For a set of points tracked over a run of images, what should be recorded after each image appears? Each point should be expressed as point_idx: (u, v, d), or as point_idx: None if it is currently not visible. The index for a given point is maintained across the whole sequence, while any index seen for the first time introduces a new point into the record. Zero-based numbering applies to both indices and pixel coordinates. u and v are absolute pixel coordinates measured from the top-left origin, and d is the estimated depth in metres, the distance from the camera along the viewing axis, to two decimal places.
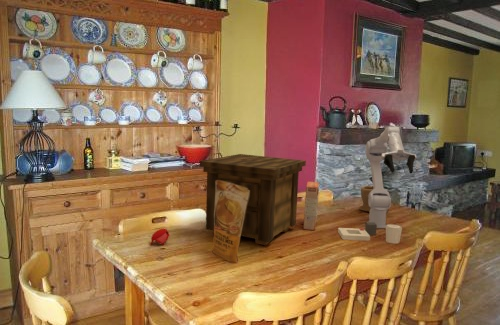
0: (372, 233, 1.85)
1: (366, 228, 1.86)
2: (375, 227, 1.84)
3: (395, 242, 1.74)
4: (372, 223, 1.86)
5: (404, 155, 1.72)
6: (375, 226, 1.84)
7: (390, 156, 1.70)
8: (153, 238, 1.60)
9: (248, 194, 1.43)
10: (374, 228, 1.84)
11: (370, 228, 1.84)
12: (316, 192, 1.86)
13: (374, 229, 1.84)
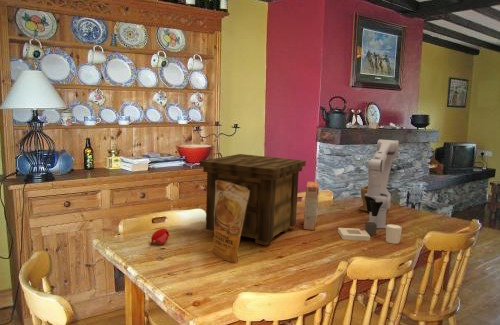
0: (372, 233, 1.85)
1: (366, 228, 1.86)
2: (375, 227, 1.84)
3: (395, 242, 1.74)
4: (372, 223, 1.86)
5: None
6: (375, 226, 1.84)
7: (365, 198, 1.89)
8: (153, 238, 1.60)
9: (248, 194, 1.43)
10: (374, 228, 1.84)
11: (370, 228, 1.84)
12: (316, 192, 1.86)
13: (374, 229, 1.84)
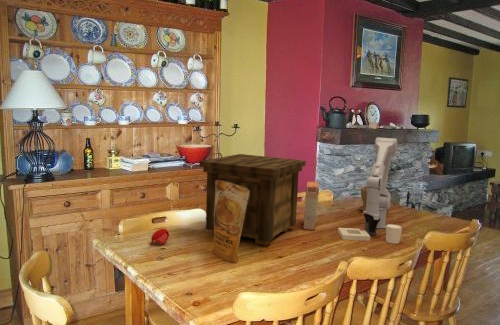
0: (372, 233, 1.84)
1: (366, 228, 1.86)
2: None
3: (395, 242, 1.74)
4: None
5: None
6: None
7: None
8: (153, 238, 1.60)
9: (248, 194, 1.43)
10: None
11: None
12: (316, 192, 1.86)
13: None
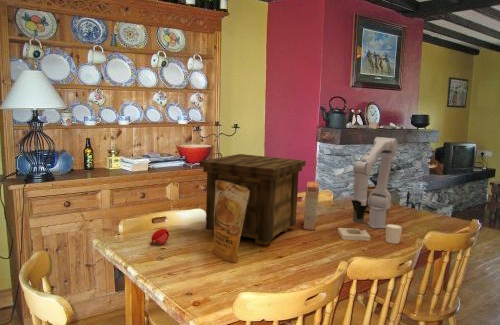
0: (360, 221, 1.80)
1: (354, 216, 1.82)
2: None
3: (395, 242, 1.74)
4: None
5: None
6: None
7: (352, 202, 1.84)
8: (153, 238, 1.60)
9: (248, 194, 1.43)
10: None
11: None
12: (316, 192, 1.86)
13: None
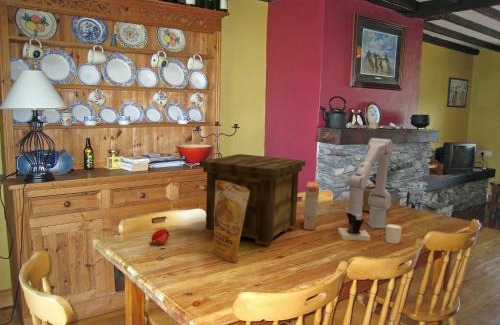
0: None
1: (349, 230, 1.82)
2: None
3: (395, 242, 1.74)
4: None
5: None
6: None
7: (347, 215, 1.85)
8: (153, 238, 1.60)
9: (248, 194, 1.43)
10: None
11: None
12: (316, 192, 1.86)
13: None
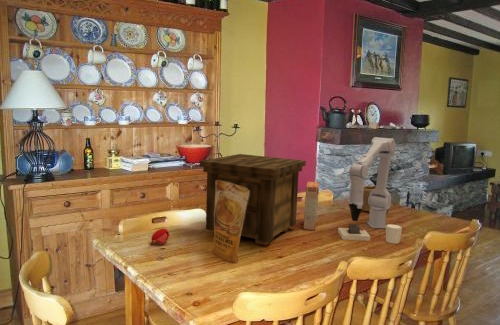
0: None
1: (349, 230, 1.82)
2: (358, 229, 1.79)
3: (395, 242, 1.74)
4: (355, 225, 1.81)
5: None
6: (358, 228, 1.79)
7: (349, 206, 1.81)
8: (153, 238, 1.60)
9: (248, 194, 1.43)
10: (357, 230, 1.79)
11: (353, 231, 1.79)
12: (316, 192, 1.86)
13: (357, 231, 1.80)
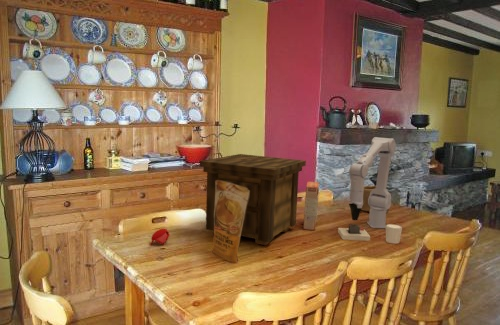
0: None
1: (349, 230, 1.82)
2: (358, 229, 1.79)
3: (395, 242, 1.74)
4: (355, 225, 1.81)
5: None
6: (358, 228, 1.79)
7: None
8: (153, 238, 1.60)
9: (248, 194, 1.43)
10: (357, 230, 1.79)
11: (353, 231, 1.80)
12: (316, 192, 1.86)
13: (357, 231, 1.80)
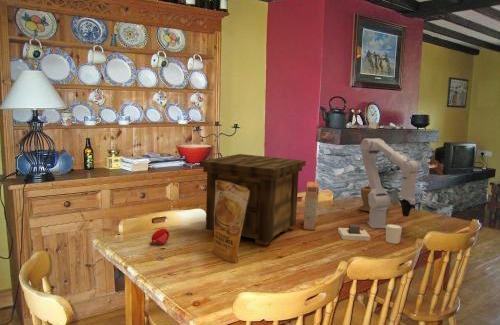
0: None
1: (349, 230, 1.82)
2: (358, 229, 1.79)
3: (395, 242, 1.74)
4: (355, 225, 1.81)
5: None
6: (358, 228, 1.79)
7: (400, 202, 1.84)
8: (153, 238, 1.60)
9: (248, 194, 1.43)
10: (357, 230, 1.79)
11: (353, 231, 1.80)
12: (316, 192, 1.86)
13: (357, 231, 1.79)
